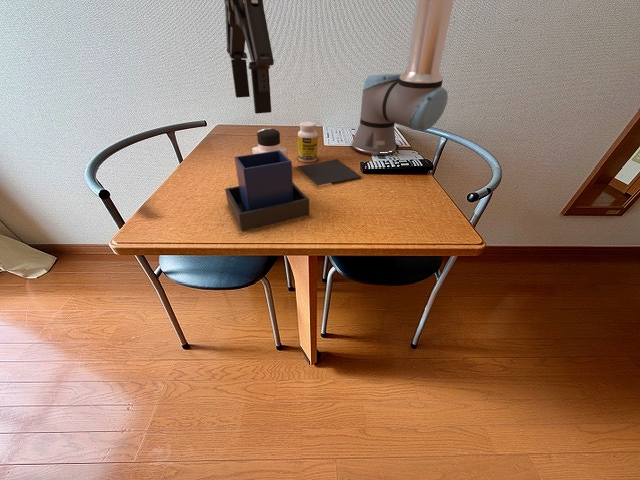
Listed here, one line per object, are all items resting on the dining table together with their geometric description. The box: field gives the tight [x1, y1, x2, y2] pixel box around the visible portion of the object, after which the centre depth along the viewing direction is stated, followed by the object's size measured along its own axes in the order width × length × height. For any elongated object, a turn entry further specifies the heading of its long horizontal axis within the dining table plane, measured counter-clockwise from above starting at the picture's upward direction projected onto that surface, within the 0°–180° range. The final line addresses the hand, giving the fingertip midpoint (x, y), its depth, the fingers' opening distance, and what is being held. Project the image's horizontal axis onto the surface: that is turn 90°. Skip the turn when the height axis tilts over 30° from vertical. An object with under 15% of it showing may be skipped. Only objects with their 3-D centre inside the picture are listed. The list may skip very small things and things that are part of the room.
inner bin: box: [233, 150, 293, 212], centre depth 63 cm, size 10×7×12 cm
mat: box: [296, 159, 362, 186], centre depth 84 cm, size 14×14×1 cm
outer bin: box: [224, 181, 310, 232], centre depth 65 cm, size 15×12×5 cm
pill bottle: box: [297, 121, 319, 163], centre depth 89 cm, size 6×6×11 cm
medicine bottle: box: [251, 127, 289, 158], centre depth 80 cm, size 7×7×12 cm
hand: (252, 104), depth 54 cm, fingers open, 13 cm apart
